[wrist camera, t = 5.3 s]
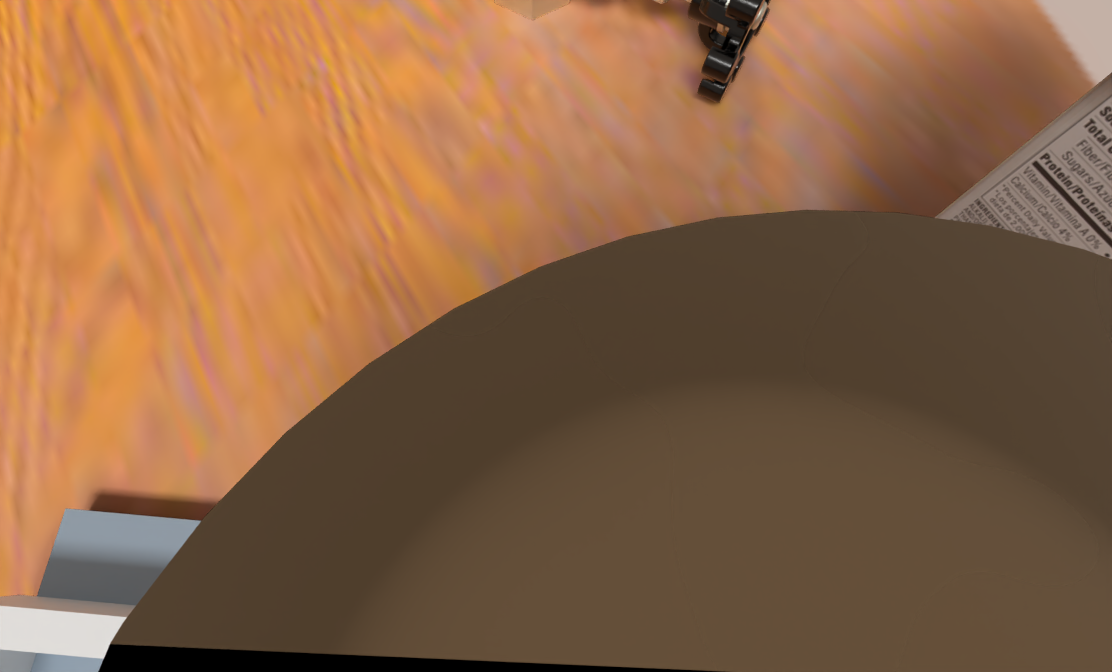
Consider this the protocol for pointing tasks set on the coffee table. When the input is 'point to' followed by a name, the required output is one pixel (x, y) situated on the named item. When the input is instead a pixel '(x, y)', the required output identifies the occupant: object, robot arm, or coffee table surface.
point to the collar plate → (87, 589)
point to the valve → (716, 6)
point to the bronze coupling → (691, 471)
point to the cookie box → (1053, 181)
